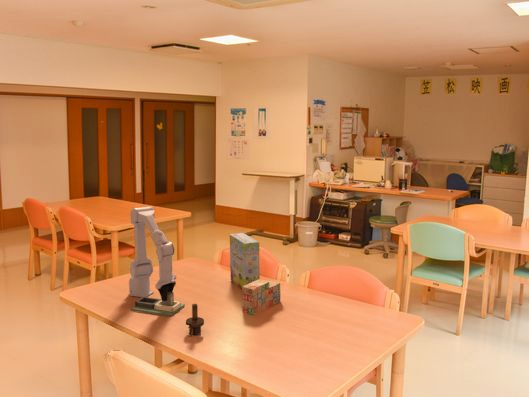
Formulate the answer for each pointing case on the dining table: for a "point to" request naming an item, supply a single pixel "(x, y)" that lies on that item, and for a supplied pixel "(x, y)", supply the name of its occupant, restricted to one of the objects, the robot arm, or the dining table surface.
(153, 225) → the robot arm
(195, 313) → the industrial component
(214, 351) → the dining table surface
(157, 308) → the board
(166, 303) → the plug
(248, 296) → the stack of blocks
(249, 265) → the snack box
